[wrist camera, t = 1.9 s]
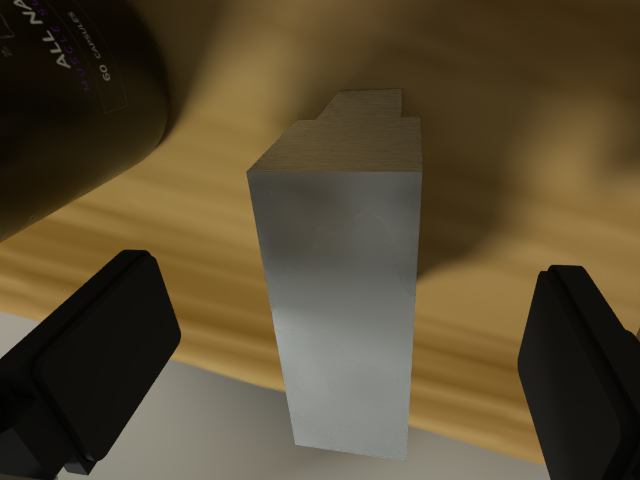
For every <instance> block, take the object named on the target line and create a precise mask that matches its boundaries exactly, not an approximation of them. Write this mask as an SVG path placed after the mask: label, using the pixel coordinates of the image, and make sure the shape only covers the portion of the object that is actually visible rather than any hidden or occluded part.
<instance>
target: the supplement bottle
mask: <svg viewBox="0 0 640 480" xmlns="http://www.w3.org/2000/svg"><path fill="white" fill-rule="evenodd" d="M169 106H170V93H169V83H168V77H167V73H166V68H165V65H164V62H163V58H162V56H161V53H160V51H159V48H158V46H157V44H156V42H155V40H154V37H153V36H152V34H151V32H150V30H149V29H148V27H147V25H146V24H145V22H144V21H143V19H142V18H141V16H140V15H139V14H138V13H137V11H136V10H135V9H134V7H133V6H132V5H131V4H130V3H129V2H128V1H127V0H0V243H1V242H2V241H4V240H6V239H8V238H9V237H11V236H13V235H15V234H16V233H18V232H20V231H22V230H23V229H25V228H27V227H29V226H30V225H32V224H34V223H36V222H38V221H39V220H41V219H43V218H45V217H46V216H48V215H50V214H52V213H53V212H55V211H57V210H59V209H60V208H62V207H64V206H66V205H67V204H69V203H71V202H73V201H74V200H76V199H78V198H80V197H81V196H83V195H85V194H87V193H88V192H90V191H92V190H94V189H95V188H97V187H99V186H101V185H103V184H104V183H106V182H108V181H110V180H111V179H113V178H115V177H117V176H118V175H120V174H122V173H123V172H125V171H126V170H128V169H130V168H132V167H133V166H135V165H136V164H138V163H139V162H141V161H142V160H144V159H145V158H146V157H147V156H148V155H149V154H150V153H151V152H152V151H153V150H154V149H155V147H156V146H157V144H158V143H159V141H160V140H161V138H162V136H163V134H164V131H165V128H166V125H167V121H168V115H169Z"/></svg>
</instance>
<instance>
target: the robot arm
mask: <svg viewBox="0 0 640 480" xmlns="http://www.w3.org/2000/svg"><path fill="white" fill-rule="evenodd" d="M180 339H181V331H180V328H179V325H178V322H177V319H176V316H175V313H174V310H173V307H172V304H171V301H170V298H169V295H168V293H167V290H166V287H165V284H164V281H163V278H162V275H161V272H160V269H159V266H158V263H157V261H156V258H155V257H153V256H151V254H150V253H149V252H148V251H146V250H123V251H121V252H120V253H119V254H118V255H116V256H115V257H114V258H113V259H112V260H111V261H110V262H109V263H107V264H106V265H105V266H104V267H103V268H102V269H101V270H100V271H98V272H97V273H96V274H95V275H94V276H93V277H92V278H91V279H89V280H88V281H87V282H86V283H85V284H84V285H83V286H82V287H80V288H79V289H78V290H77V291H76V292H75V293H74V294H73V295H71V296H70V297H69V298H68V299H67V300H66V301H65V302H64V303H63V304H61V305H60V306H59V307H58V308H57V309H56V310H55V311H54V312H52V313H51V314H50V315H49V316H48V317H47V318H46V319H45V320H43V321H42V322H41V323H40V324H39V325H38V326H37V327H36V328H34V329H33V330H32V331H31V332H30V333H29V334H28V335H27V336H25V337H24V338H23V339H22V340H21V341H20V342H19V343H18V344H16V345H15V346H14V347H13V348H12V349H11V350H10V351H9V352H8V353H6V354H5V355H4V356H3V357H2V358H1V359H0V480H58V479H57V478H58V477H57V474H58V473H59V471H60V470H61V469H62V467H63V466H64V468H65V469H66V471H67V472H70V473H76V474H82V475H89V473H90V472H91V470H92V469H93V467H94V466H95V464H96V463H97V461H100V460H102V459H103V458H104V457H105V456H106V455H107V453H108V452H109V450H110V449H111V447H112V446H113V444H114V443H115V441H116V440H117V438H118V437H119V435H120V433H121V432H122V430H123V429H124V427H125V426H126V424H127V423H128V421H129V420H130V418H131V417H132V415H133V414H134V412H135V411H136V409H137V408H138V406H139V404H140V403H141V401H142V400H143V398H144V397H145V395H146V394H147V392H148V391H149V389H150V388H151V386H152V384H153V383H154V382H155V380H156V378H157V377H158V375H159V374H160V372H161V371H162V369H163V368H164V366H165V365H166V363H167V362H168V360H169V359H170V357H171V356H172V354H173V353H174V351H175V349H176V348H177V346H178V345H179V343H180ZM518 373H519V376H520V380H521V383H522V386H523V390H524V393H525V396H526V400H527V403H528V406H529V410H530V413H531V416H532V419H533V423H534V426H535V429H536V433H537V436H538V439H539V443H540V446H541V449H542V453H543V456H544V459H545V462H546V466H547V469H548V472H549V475H550V479H551V480H640V342H639V340H638V339H637V338H636V337H635V335H634V334H633V333H632V332H630V331H628V330H625V329H624V327H623V326H622V324H621V323H620V321H619V319H618V318H617V316H616V315H615V313H614V312H613V310H612V309H611V307H610V306H609V304H608V303H607V301H606V300H605V298H604V297H603V295H602V294H601V292H600V291H599V289H598V288H597V286H596V285H595V283H594V282H593V280H592V279H591V277H590V276H589V274H588V273H587V271H586V270H585V269H584V268H583V267H582V266H573V265H551V266H550V267H549V268H548V271H541V272H540V273H539V275H538V279H537V283H536V287H535V291H534V295H533V299H532V303H531V307H530V311H529V315H528V319H527V323H526V327H525V331H524V335H523V339H522V344H521V348H520V352H519V356H518Z"/></svg>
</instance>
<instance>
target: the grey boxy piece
mask: <svg viewBox="0 0 640 480" xmlns="http://www.w3.org/2000/svg"><path fill="white" fill-rule="evenodd" d="M401 115H402V89H388V90H364V91H341V92H338V93H337V94H336V95H335V97H334V98H333V99H332V100H331V101H330V103H329V104H328V105H327V106H326V108H325V109H324V110H323V111H322V113H321V114H320V115H319V116H318V118H317V119H316V120H296V121H295V122H294V123H293V124H292V125H291V126H290V127H289V128H288V129H287V130H286V131H285V132H284V133H283V134H282V135H281V137H280V138H279V139H278V140H277V141H276V142H275V143H274V144H273V145H272V146H271V147H270V148H269V149H268V150H267V151H266V152H265V153H264V154H263V155H262V156H261V157H260V158H259V159H258V160H257V161H256V162H255V163H254V165H253V166H252V167H251V168H250V169H249V170H248V171H247V177H248V183H249V189H250V194H251V200H252V205H253V211H254V216H255V222H256V227H257V233H258V239H259V244H260V250H261V255H262V261H263V266H264V272H265V278H266V283H267V289H268V294H269V300H270V305H271V311H272V317H273V322H274V328H275V333H276V339H277V344H278V350H279V356H280V361H281V367H282V372H283V378H284V383H285V389H286V395H287V400H288V406H289V411H290V416H291V422H292V428H293V434H294V439H295V444H296V445H302V446H309V447H315V448H322V449H328V450H335V451H342V452H349V453H355V454H362V455H368V456H375V457H382V458H388V459H395V460H402V461H406V453H407V435H408V418H409V401H410V383H411V366H412V348H413V331H414V314H415V296H416V279H417V261H418V244H419V227H420V209H421V192H422V174H423V169H422V147H421V125H420V117H401Z"/></svg>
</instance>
